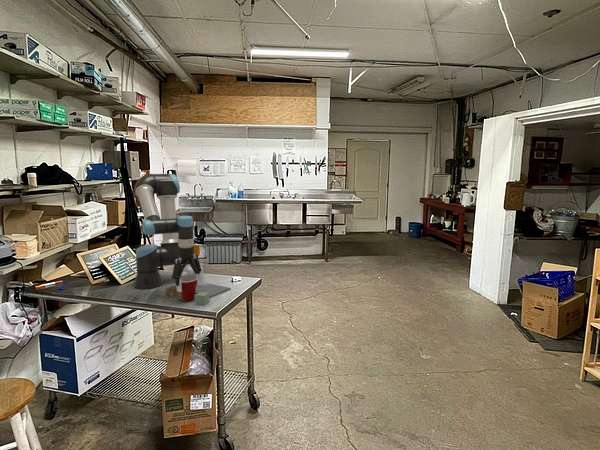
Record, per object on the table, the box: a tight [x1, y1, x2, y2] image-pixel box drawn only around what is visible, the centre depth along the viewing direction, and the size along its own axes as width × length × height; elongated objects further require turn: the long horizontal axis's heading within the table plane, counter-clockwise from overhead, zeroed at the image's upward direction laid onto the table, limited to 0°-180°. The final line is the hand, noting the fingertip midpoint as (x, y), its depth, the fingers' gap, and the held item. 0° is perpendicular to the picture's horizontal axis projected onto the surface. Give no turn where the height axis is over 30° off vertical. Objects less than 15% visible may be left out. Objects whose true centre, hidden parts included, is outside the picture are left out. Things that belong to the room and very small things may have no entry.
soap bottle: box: [186, 244, 204, 288], centre depth 214 cm, size 9×9×25 cm
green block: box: [194, 292, 210, 306], centre depth 186 cm, size 5×5×5 cm
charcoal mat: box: [195, 283, 231, 299], centre depth 205 cm, size 16×16×1 cm
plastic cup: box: [180, 274, 198, 302], centre depth 191 cm, size 11×11×12 cm
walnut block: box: [165, 285, 181, 299], centre depth 197 cm, size 5×5×5 cm
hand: (187, 288), depth 191 cm, fingers closed on plastic cup, 11 cm apart
